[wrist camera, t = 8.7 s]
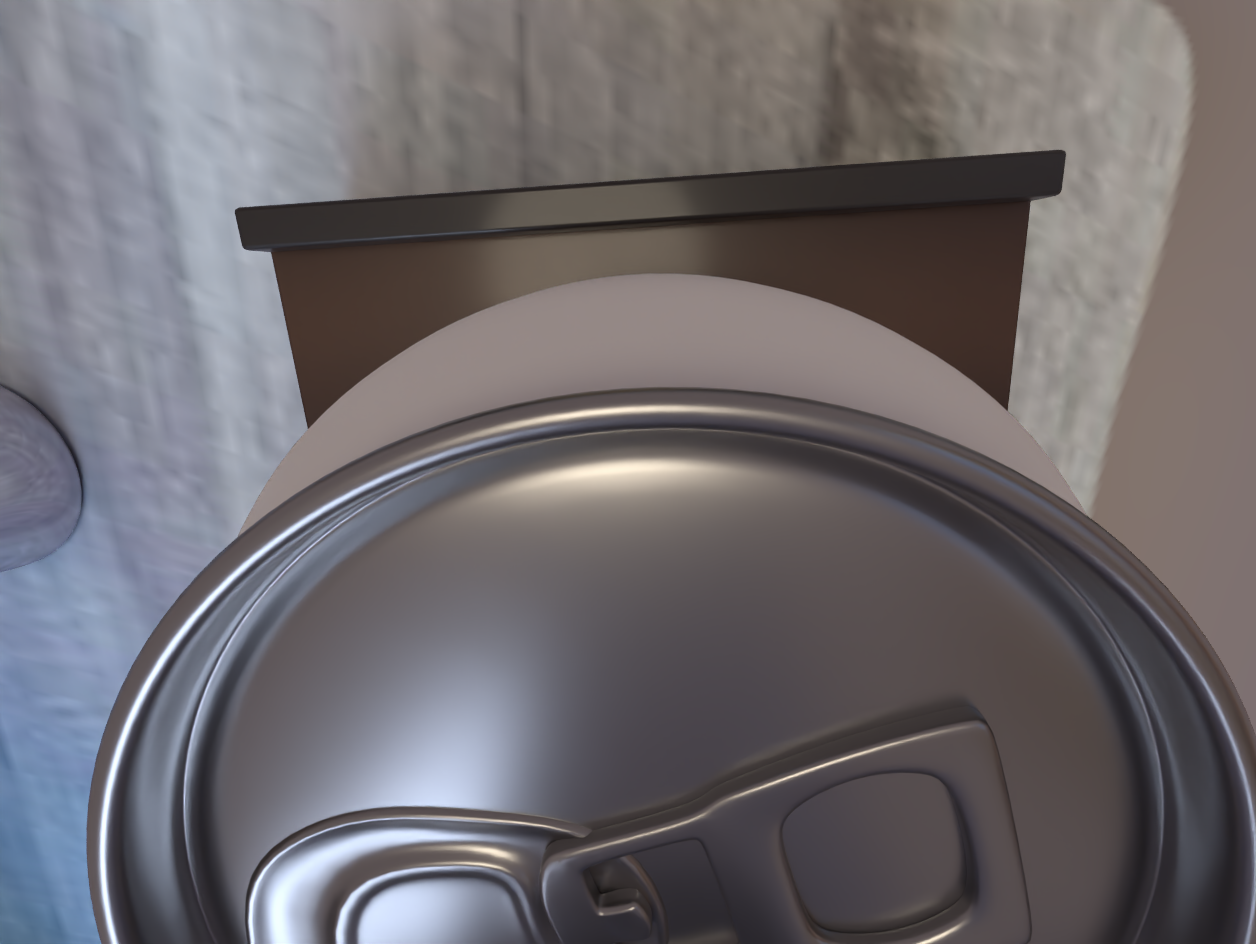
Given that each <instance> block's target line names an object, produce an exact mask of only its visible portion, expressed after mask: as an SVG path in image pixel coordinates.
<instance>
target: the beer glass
mask: <svg viewBox="0 0 1256 944" xmlns="http://www.w3.org/2000/svg"><path fill="white" fill-rule="evenodd" d="M81 502H82V492H81V483H80V477H79V473H78V469H77V466H76V464H75V461H74V458H73V456H72V454H71V452H70V450H69V448H68V446H67V445H66V443H65V441H64V440H63V438H62V437H61V435H60V434H59V433H58V431H57V430H56V429H55V427H54V426H53V425H52V424H51V423H50V422H49V421H48V419H47V418H46V417H45V416H44V415H43V414H42V413H40V412H39V411H38V410H37V409H36V408H35V407H34V406H32V405H31V404H30V403H29V402H27V401H26V400H25V399H23V398H22V397H20V396H18V395H17V394H15V393H14V392H12V391H10V390H8V389H6V388H4V387H2V386H0V572H4V571H8V570H12V569H15V568H18V567H22V566H25V565H28V564H31V563H34V562H36V561H39V560H41V559H43V558H45V557H47V556H49V555H50V554H52V553H53V552H54V551H56V550H57V549H58V548H59V547H61V546H62V545H63V544H64V543H65V542H66V540H67V539H68V538H69V537H70V535H71V534H72V532H73V530H74V528H75V526H76V524H77V521H78V518H79V515H80V510H81Z"/></svg>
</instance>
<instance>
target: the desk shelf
mask: <svg viewBox="0 0 1256 944" xmlns="http://www.w3.org/2000/svg"><path fill="white" fill-rule="evenodd" d="M1065 158H1066V153H1065V151H1063V150H1049V151H1035V152H1021V153H1006V154H992V155H978V156H964V157H950V158H935V159H921V160H907V161H893V162H879V163H865V164H850V165H836V166H822V167H808V168H794V169H779V170H765V171H751V172H737V173H723V174H708V175H694V176H680V177H666V178H652V179H638V180H623V181H609V182H595V183H581V184H567V185H552V186H538V187H524V188H510V189H496V190H481V191H467V192H453V193H439V194H425V195H411V196H396V197H382V198H368V199H354V200H340V201H325V202H311V203H297V204H283V205H269V206H254V207H240V208H237V209H236V210H235V215H236V220H237V224H238V229H239V233H240V238H241V242H242V246H243V248H244V249H246V250H251V251H264V252H271V254H272V259H273V263H274V268H275V273H276V278H277V283H278V287H279V292H280V297H281V302H282V306H283V311H284V316H285V321H286V326H287V330H288V335H289V340H290V345H291V350H292V354H293V359H294V364H295V369H296V374H297V378H298V383H299V388H300V393H301V398H302V402H303V407H304V412H305V417H306V422H307V426H308V429H309V428H310V427H311V426H312V425H313V424H314V423H315V422H316V421H317V419H318V418H319V417H320V416H321V415H322V414H323V413H324V412H325V411H326V410H327V409H329V408H330V407H331V406H332V405H333V404H334V403H335V402H336V401H337V400H338V399H340V398H341V397H342V396H343V395H344V394H345V393H346V392H348V391H349V390H350V389H351V388H353V387H354V386H355V385H356V384H357V383H359V382H360V381H361V380H362V379H364V378H365V377H367V376H368V375H369V374H371V373H372V372H373V371H375V370H376V369H378V368H379V367H380V366H382V365H383V364H385V363H386V362H388V361H389V360H391V359H392V358H394V357H395V356H397V355H398V354H400V353H401V352H403V351H404V350H406V349H408V348H409V347H411V346H412V345H414V344H415V343H417V342H419V341H421V340H422V339H424V338H426V337H428V336H429V335H431V334H433V333H435V332H436V331H438V330H440V329H442V328H444V327H446V326H448V325H450V324H452V323H454V322H456V321H458V320H461V319H463V318H465V317H468V316H470V315H472V314H474V313H477V312H479V311H482V310H484V309H487V308H489V307H492V306H495V305H497V304H500V303H503V302H506V301H509V300H512V299H515V298H518V297H522V296H525V295H528V294H531V293H534V292H538V291H541V290H545V289H549V288H552V287H556V286H560V285H564V284H569V283H574V282H579V281H584V280H590V279H597V278H603V277H612V276H622V275H634V274H691V275H704V276H713V277H722V278H728V279H735V280H741V281H746V282H751V283H756V284H761V285H765V286H770V287H774V288H779V289H783V290H786V291H790V292H794V293H798V294H801V295H805V296H808V297H811V298H815V299H818V300H821V301H824V302H827V303H830V304H833V305H835V306H838V307H840V308H843V309H846V310H848V311H851V312H853V313H856V314H858V315H860V316H862V317H865V318H867V319H869V320H871V321H874V322H876V323H878V324H880V325H882V326H884V327H886V328H888V329H890V330H892V331H894V332H895V333H897V334H899V335H901V336H903V337H905V338H906V339H908V340H910V341H912V342H913V343H915V344H917V345H919V346H920V347H922V348H924V349H925V350H927V351H929V352H931V353H932V354H934V355H936V356H937V357H939V358H940V359H942V360H943V361H945V362H946V363H948V364H949V365H951V366H952V367H954V368H955V369H957V370H958V371H959V372H961V373H962V374H964V375H965V376H966V377H968V378H969V379H970V380H972V381H973V382H974V383H976V384H977V385H978V386H979V387H980V388H982V389H983V390H984V391H985V392H986V393H988V394H989V395H990V396H991V397H992V398H994V399H995V400H996V401H997V402H998V403H999V404H1000V405H1001V406H1002V407H1003V408H1005V409H1006V410H1008V401H1009V392H1010V383H1011V374H1012V365H1013V356H1014V347H1015V338H1016V329H1017V320H1018V311H1019V301H1020V292H1021V283H1022V274H1023V265H1024V256H1025V247H1026V238H1027V229H1028V220H1029V211H1030V202H1031V201H1033V200H1038V199H1042V198H1047V197H1052V196H1056V195H1058V194H1059V193H1060V192H1061V190H1062V182H1063V174H1064V166H1065Z"/></svg>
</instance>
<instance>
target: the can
mask: <svg viewBox="0 0 1256 944" xmlns="http://www.w3.org/2000/svg"><path fill="white" fill-rule="evenodd" d="M87 866H88V878H89V886H90V894H91V900H92V906H93V911H94V916H95V921H96V925H97V929H98V932H99V936H100V940H101V943H102V944H1256V736H1255V733H1254V730H1253V727H1252V725H1251V722H1250V720H1249V717H1248V714H1247V712H1246V709H1245V707H1244V705H1243V703H1242V701H1241V699H1240V696H1239V695H1238V692H1237V690H1236V688H1235V686H1234V684H1233V682H1232V680H1231V678H1230V676H1229V674H1228V673H1227V671H1226V669H1225V667H1224V665H1223V664H1222V662H1221V660H1220V658H1219V657H1218V655H1217V654H1216V652H1215V650H1214V649H1213V648H1212V646H1211V644H1210V643H1209V641H1208V640H1207V638H1206V636H1205V635H1204V634H1203V632H1202V631H1201V630H1200V628H1199V627H1198V626H1197V624H1196V623H1195V621H1194V620H1193V619H1192V617H1191V616H1190V615H1189V613H1188V612H1187V611H1186V610H1185V609H1184V607H1183V606H1182V605H1181V604H1180V603H1179V601H1178V600H1177V599H1176V598H1175V597H1174V596H1173V594H1172V593H1171V592H1170V591H1169V590H1168V588H1167V587H1166V586H1165V585H1164V584H1163V583H1162V582H1161V581H1160V580H1159V579H1158V578H1157V577H1156V576H1155V575H1154V574H1153V573H1152V572H1151V571H1150V570H1149V568H1147V566H1146V565H1144V564H1143V563H1142V562H1141V561H1140V560H1139V559H1138V558H1137V557H1136V556H1135V555H1134V554H1132V552H1131V551H1129V550H1128V549H1127V548H1126V547H1125V546H1124V545H1123V544H1122V543H1120V542H1119V541H1118V540H1117V539H1116V538H1114V537H1113V536H1112V535H1111V534H1109V533H1108V532H1107V531H1106V530H1105V529H1103V528H1102V527H1101V526H1100V525H1098V524H1097V523H1096V522H1094V521H1093V520H1092V519H1090V518H1089V517H1088V516H1087V515H1086V513H1085V511H1084V510H1083V508H1082V506H1081V504H1080V503H1079V501H1078V499H1077V498H1076V496H1075V495H1074V493H1073V492H1072V490H1071V489H1070V487H1069V486H1068V484H1067V483H1066V481H1065V480H1064V478H1063V477H1062V475H1061V474H1060V472H1059V471H1058V469H1057V468H1056V466H1055V465H1054V464H1053V462H1052V461H1051V460H1050V458H1049V457H1048V456H1047V454H1046V453H1045V452H1044V450H1043V449H1042V448H1041V447H1040V446H1039V445H1038V443H1037V442H1036V441H1035V440H1034V439H1033V437H1032V436H1031V435H1030V434H1029V433H1028V432H1027V431H1026V430H1025V429H1024V428H1023V426H1022V425H1021V424H1020V423H1019V422H1018V421H1017V420H1016V419H1015V418H1014V417H1013V416H1012V415H1011V414H1010V413H1009V412H1008V411H1007V410H1006V409H1005V408H1003V407H1002V406H1001V405H1000V404H999V403H998V402H997V401H996V400H995V399H994V398H992V397H991V396H990V395H989V394H988V393H986V392H985V391H984V390H983V389H982V388H980V387H979V386H978V385H977V384H976V383H974V382H973V381H972V380H970V379H969V378H968V377H966V376H965V375H964V374H962V373H961V372H959V371H958V370H957V369H955V368H954V367H952V366H951V365H949V364H948V363H946V362H945V361H943V360H942V359H940V358H939V357H937V356H936V355H934V354H932V353H931V352H929V351H927V350H925V349H924V348H922V347H920V346H919V345H917V344H915V343H913V342H912V341H910V340H908V339H906V338H905V337H903V336H901V335H899V334H897V333H895V332H894V331H892V330H890V329H888V328H886V327H884V326H882V325H880V324H878V323H876V322H874V321H871V320H869V319H867V318H865V317H862V316H860V315H858V314H856V313H853V312H851V311H848V310H846V309H843V308H840V307H838V306H835V305H833V304H830V303H827V302H824V301H821V300H818V299H815V298H811V297H808V296H805V295H801V294H798V293H794V292H790V291H786V290H783V289H779V288H774V287H770V286H765V285H761V284H756V283H751V282H746V281H741V280H735V279H728V278H722V277H713V276H704V275H691V274H634V275H622V276H612V277H603V278H597V279H590V280H584V281H579V282H574V283H569V284H564V285H560V286H556V287H552V288H549V289H545V290H541V291H538V292H534V293H531V294H528V295H525V296H522V297H518V298H515V299H512V300H509V301H506V302H503V303H500V304H497V305H495V306H492V307H489V308H487V309H484V310H482V311H479V312H477V313H474V314H472V315H470V316H468V317H465V318H463V319H461V320H458V321H456V322H454V323H452V324H450V325H448V326H446V327H444V328H442V329H440V330H438V331H436V332H435V333H433V334H431V335H429V336H428V337H426V338H424V339H422V340H421V341H419V342H417V343H415V344H414V345H412V346H411V347H409V348H408V349H406V350H404V351H403V352H401V353H400V354H398V355H397V356H395V357H394V358H392V359H391V360H389V361H388V362H386V363H385V364H383V365H382V366H380V367H379V368H378V369H376V370H375V371H373V372H372V373H371V374H369V375H368V376H367V377H365V378H364V379H362V380H361V381H360V382H359V383H357V384H356V385H355V386H354V387H353V388H351V389H350V390H349V391H348V392H346V393H345V394H344V395H343V396H342V397H341V398H340V399H338V400H337V401H336V402H335V403H334V404H333V405H332V406H331V407H330V408H329V409H327V410H326V411H325V412H324V413H323V414H322V415H321V416H320V417H319V418H318V419H317V421H316V422H315V423H314V424H313V425H312V426H311V427H310V428H309V429H308V430H307V431H306V432H305V433H304V435H303V436H302V437H301V438H300V439H299V440H298V441H297V443H296V444H295V445H294V446H293V447H292V449H291V450H290V451H289V453H288V454H287V455H286V456H285V458H284V459H283V460H282V462H281V463H280V464H279V466H278V467H277V469H276V470H275V472H274V473H273V475H272V476H271V478H270V479H269V480H268V482H267V484H266V485H265V487H264V489H263V490H262V492H261V494H260V495H259V497H258V499H257V500H256V502H255V504H254V506H253V508H252V509H251V511H250V513H249V515H248V517H247V519H246V521H245V523H244V525H243V527H242V528H241V531H240V533H239V535H238V537H237V538H236V539H235V540H234V541H233V542H232V543H231V544H229V545H228V546H227V547H226V548H225V549H224V550H223V551H222V552H220V553H219V554H218V555H217V556H216V557H215V558H214V559H213V560H212V561H211V562H210V563H209V564H208V565H207V566H206V567H205V568H204V569H203V570H202V571H201V572H200V573H199V574H198V576H197V577H196V578H195V579H194V580H193V581H192V582H191V583H190V585H189V586H188V587H187V588H186V589H185V590H184V591H183V593H182V594H181V595H180V596H179V597H178V599H177V600H176V601H175V602H174V604H173V605H172V606H171V608H170V609H169V610H168V611H167V613H166V614H165V615H164V617H163V618H162V619H161V621H160V622H159V624H158V625H157V627H156V628H155V629H154V631H153V632H152V634H151V635H150V637H149V638H148V640H147V641H146V643H145V645H144V646H143V648H142V650H141V651H140V653H139V655H138V656H137V658H136V660H135V661H134V663H133V665H132V667H131V669H130V671H129V673H128V675H127V677H126V679H125V681H124V683H123V685H122V687H121V689H120V691H119V694H118V696H117V698H116V701H115V703H114V705H113V708H112V710H111V713H110V716H109V719H108V721H107V724H106V727H105V730H104V733H103V736H102V739H101V743H100V747H99V750H98V754H97V758H96V762H95V767H94V772H93V777H92V781H91V788H90V796H89V803H88V816H87Z"/></svg>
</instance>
